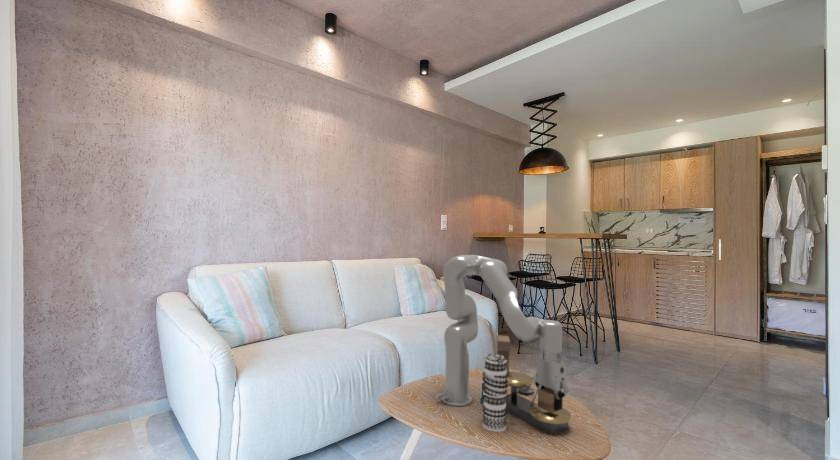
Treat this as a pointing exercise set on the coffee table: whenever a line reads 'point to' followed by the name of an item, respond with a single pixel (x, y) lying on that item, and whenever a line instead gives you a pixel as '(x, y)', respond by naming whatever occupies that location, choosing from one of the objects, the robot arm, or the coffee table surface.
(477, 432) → the coffee table surface
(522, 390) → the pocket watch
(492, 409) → the decorative candle
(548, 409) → the walnut block
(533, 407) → the balance
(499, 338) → the decorative block
